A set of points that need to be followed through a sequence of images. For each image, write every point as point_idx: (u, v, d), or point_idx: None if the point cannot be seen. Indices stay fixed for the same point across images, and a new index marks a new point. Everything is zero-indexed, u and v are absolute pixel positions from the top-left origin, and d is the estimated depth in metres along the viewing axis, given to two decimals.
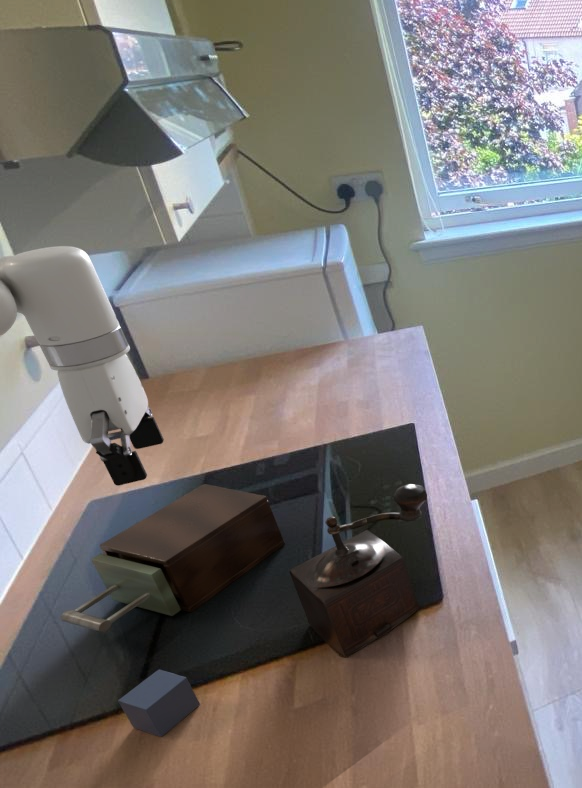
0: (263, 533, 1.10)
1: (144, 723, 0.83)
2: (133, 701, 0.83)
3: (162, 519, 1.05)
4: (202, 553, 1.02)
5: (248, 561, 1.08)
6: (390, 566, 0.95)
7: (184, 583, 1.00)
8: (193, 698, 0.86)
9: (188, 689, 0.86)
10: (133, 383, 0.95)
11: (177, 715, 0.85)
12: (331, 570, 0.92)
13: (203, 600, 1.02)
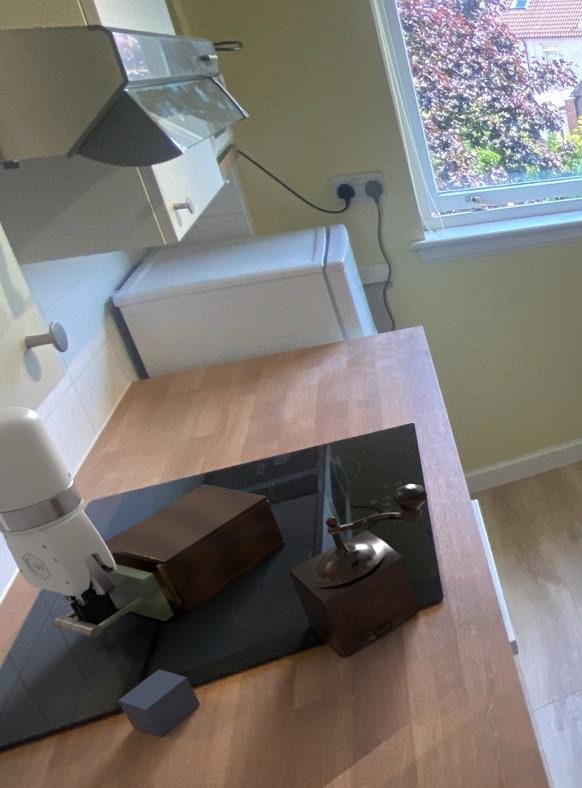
0: (263, 533, 1.10)
1: (144, 723, 0.83)
2: (133, 701, 0.83)
3: (162, 519, 1.05)
4: (202, 553, 1.02)
5: (248, 561, 1.08)
6: (390, 566, 0.95)
7: (184, 583, 1.00)
8: (193, 698, 0.86)
9: (188, 689, 0.86)
10: None
11: (177, 715, 0.85)
12: (331, 570, 0.92)
13: (203, 600, 1.02)
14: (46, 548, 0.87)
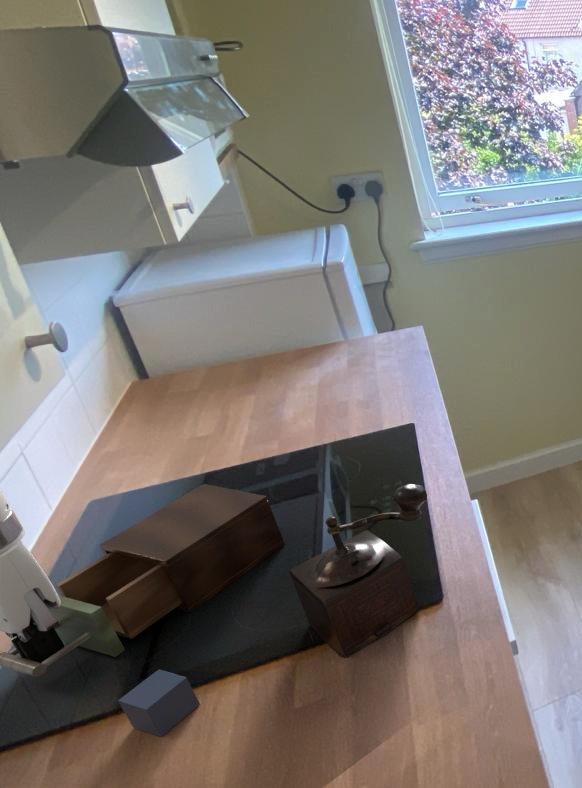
0: (263, 533, 1.10)
1: (144, 723, 0.83)
2: (133, 701, 0.83)
3: (162, 519, 1.05)
4: (202, 553, 1.02)
5: (248, 561, 1.08)
6: (390, 566, 0.95)
7: (184, 583, 1.00)
8: (193, 698, 0.86)
9: (188, 689, 0.86)
10: None
11: (177, 715, 0.85)
12: (331, 570, 0.92)
13: (203, 600, 1.02)
14: None
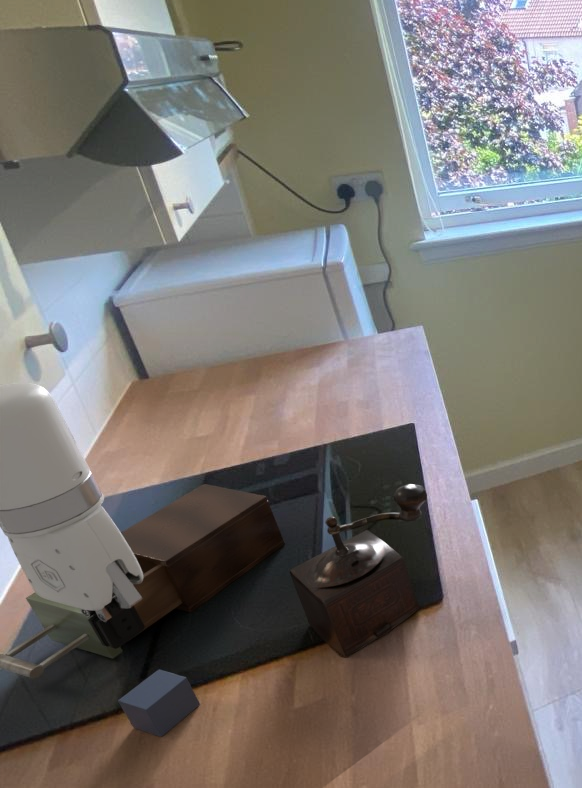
0: (263, 533, 1.10)
1: (144, 723, 0.83)
2: (133, 701, 0.83)
3: (162, 519, 1.05)
4: (202, 553, 1.02)
5: (248, 561, 1.08)
6: (390, 566, 0.95)
7: (184, 583, 1.00)
8: (193, 698, 0.86)
9: (188, 689, 0.86)
10: None
11: (177, 715, 0.85)
12: (331, 570, 0.92)
13: (203, 600, 1.02)
14: (60, 553, 0.72)
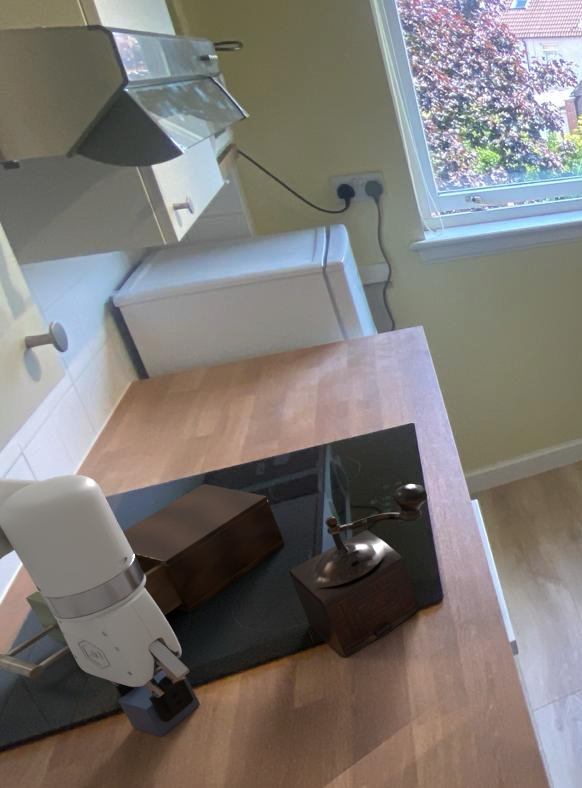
0: (263, 533, 1.10)
1: (144, 723, 0.83)
2: (133, 701, 0.83)
3: (162, 519, 1.05)
4: (202, 553, 1.02)
5: (248, 561, 1.08)
6: (390, 566, 0.95)
7: (184, 583, 1.00)
8: (193, 698, 0.86)
9: None
10: None
11: (177, 715, 0.85)
12: (331, 570, 0.92)
13: (203, 600, 1.02)
14: (106, 636, 0.76)
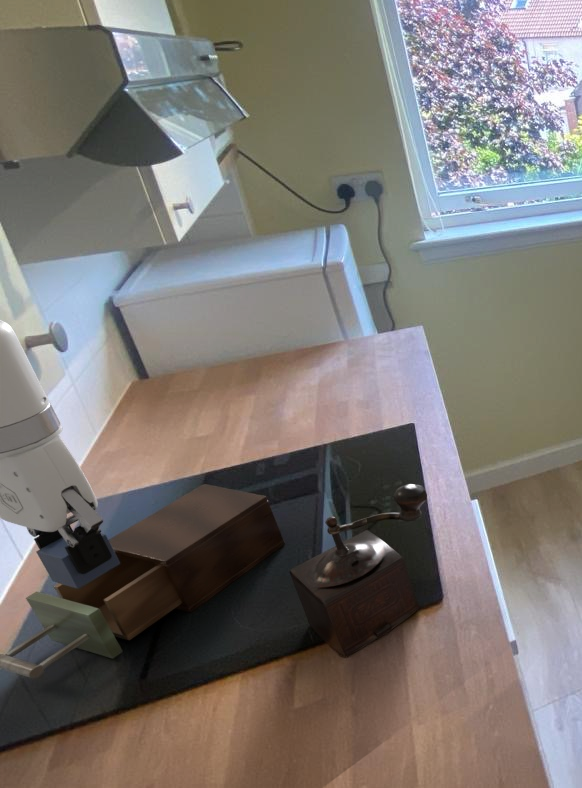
0: (263, 533, 1.10)
1: (61, 575, 0.85)
2: (50, 552, 0.84)
3: (162, 519, 1.05)
4: (202, 553, 1.02)
5: (248, 561, 1.08)
6: (390, 566, 0.95)
7: (184, 583, 1.00)
8: (113, 556, 0.88)
9: None
10: None
11: (96, 570, 0.87)
12: (331, 570, 0.92)
13: (203, 600, 1.02)
14: (18, 476, 0.78)
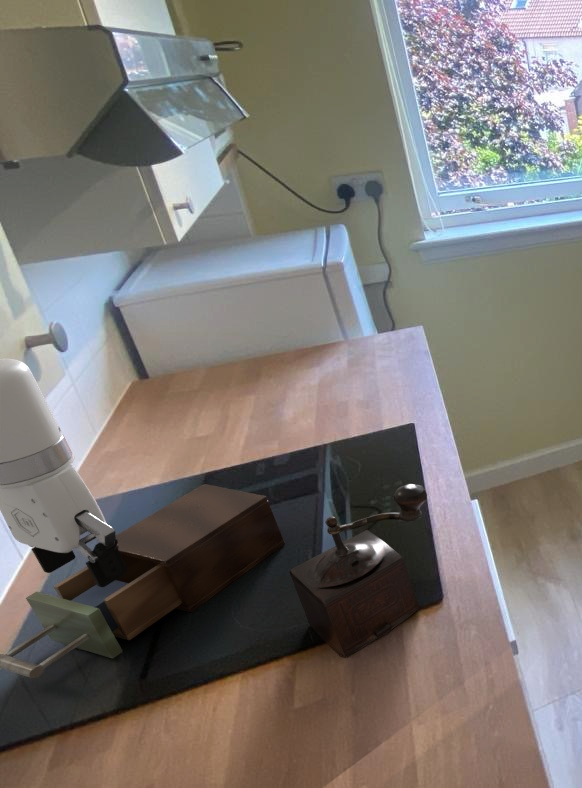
0: (263, 533, 1.10)
1: None
2: (82, 602, 0.94)
3: (162, 519, 1.05)
4: (202, 553, 1.02)
5: (248, 561, 1.08)
6: (390, 566, 0.95)
7: (184, 583, 1.00)
8: None
9: None
10: None
11: None
12: (331, 570, 0.92)
13: (203, 600, 1.02)
14: (35, 503, 0.85)
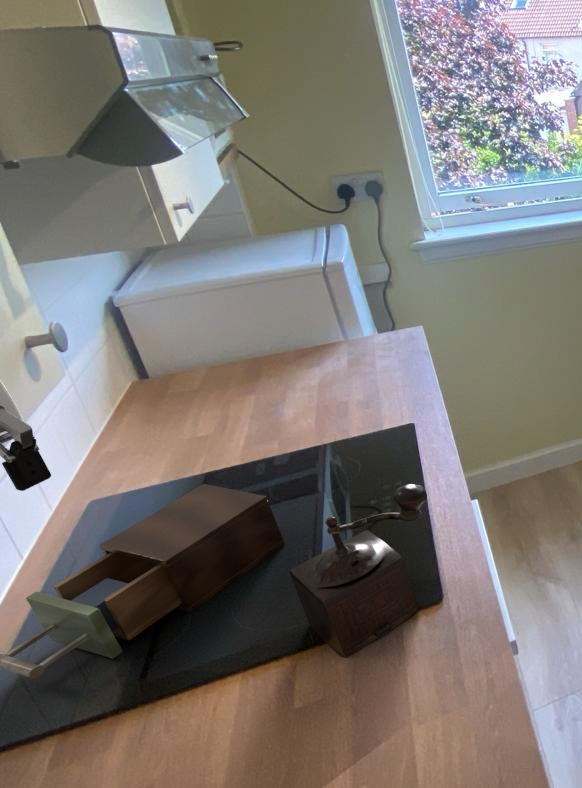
0: (263, 533, 1.10)
1: None
2: (82, 602, 0.94)
3: (162, 519, 1.05)
4: (202, 553, 1.02)
5: (248, 561, 1.08)
6: (390, 566, 0.95)
7: (184, 583, 1.00)
8: None
9: None
10: None
11: None
12: (331, 570, 0.92)
13: (203, 600, 1.02)
14: None
